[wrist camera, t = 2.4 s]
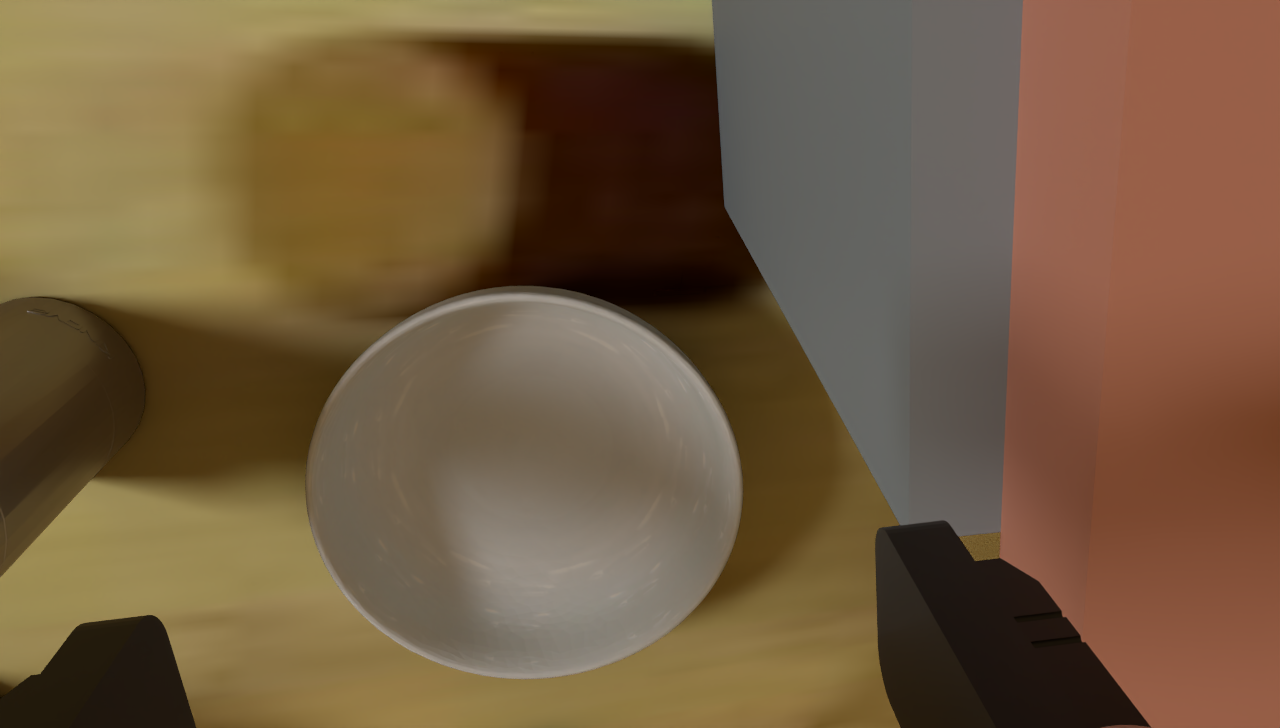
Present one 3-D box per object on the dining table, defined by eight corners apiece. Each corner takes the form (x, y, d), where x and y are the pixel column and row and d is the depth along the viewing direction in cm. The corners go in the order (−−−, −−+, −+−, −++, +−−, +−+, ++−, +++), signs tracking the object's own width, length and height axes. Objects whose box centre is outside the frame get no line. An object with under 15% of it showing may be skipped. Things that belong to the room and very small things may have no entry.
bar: (1143, 860, 27) (1235, 1008, 23) (986, 877, 27) (1052, 1029, 23) (1282, -358, 17) (1477, -445, 13) (1037, -336, 17) (1164, -416, 13)
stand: (1072, 340, 56) (1623, 779, 26) (734, 374, 56) (907, 857, 26) (1103, -138, 48) (1964, -282, 18) (706, -100, 48) (912, -183, 18)
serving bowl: (321, 581, 59) (289, 658, 53) (354, 220, 52) (322, 258, 46) (684, 628, 62) (696, 706, 55) (765, 288, 54) (789, 333, 48)
